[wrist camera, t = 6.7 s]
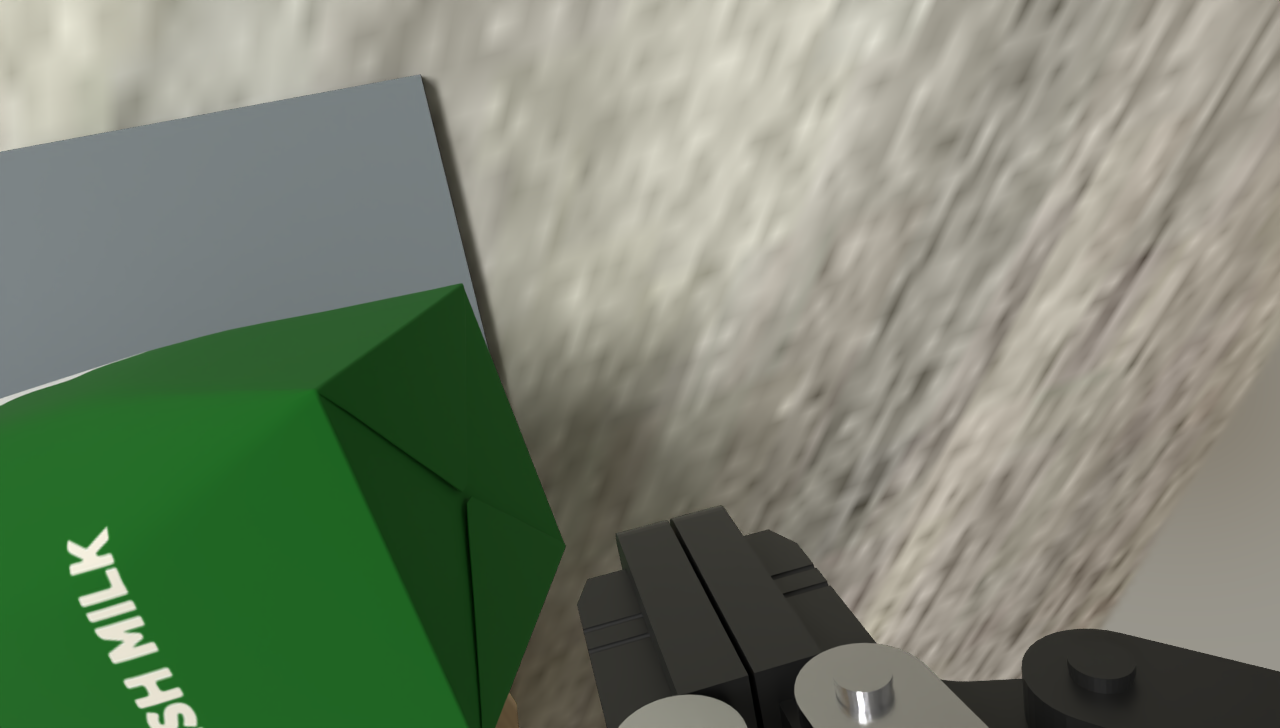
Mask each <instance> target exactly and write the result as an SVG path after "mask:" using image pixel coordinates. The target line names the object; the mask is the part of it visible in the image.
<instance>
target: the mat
mask: <svg viewBox="0 0 1280 728" xmlns="http://www.w3.org/2000/svg"><path fill="white" fill-rule="evenodd" d="M459 283H462V284H463V285H464V289H465V292H466V294H467V297H468V299H469V302H470V304H471V307H472V309H473V312H474V314H475V317H476V320H477V322H478V325H479V327H480V330H481V332H482V335H483V337H484V340H485V343H486V345H487V341H486V337H485V333H484V329H483V325H482V321H481V317H480V313H479V308H478V304H477V300H476V296H475V292H474V288H473V284H472V280H471V276H470V272H469V268H468V264H467V260H466V256H465V252H464V248H463V244H462V240H461V236H460V232H459V227H458V223H457V219H456V215H455V211H454V207H453V203H452V199H451V195H450V191H449V187H448V183H447V179H446V175H445V171H444V167H443V163H442V159H441V155H440V151H439V146H438V142H437V138H436V134H435V130H434V126H433V122H432V118H431V114H430V110H429V106H428V102H427V98H426V94H425V90H424V86H423V82H422V78H421V75H415V76H410V77H404V78H399V79H393V80H388V81H383V82H377V83H372V84H366V85H361V86H355V87H350V88H344V89H339V90H334V91H328V92H323V93H317V94H312V95H306V96H301V97H296V98H290V99H285V100H279V101H274V102H268V103H263V104H258V105H252V106H247V107H241V108H236V109H230V110H225V111H220V112H214V113H209V114H203V115H198V116H192V117H187V118H182V119H176V120H171V121H165V122H160V123H154V124H149V125H144V126H138V127H133V128H127V129H122V130H116V131H111V132H106V133H100V134H95V135H89V136H84V137H78V138H73V139H68V140H62V141H57V142H51V143H46V144H40V145H35V146H30V147H24V148H19V149H13V150H8V151H2V152H0V399H1V398H4V397H7V396H10V395H13V394H16V393H19V392H22V391H25V390H28V389H31V388H35V387H38V386H41V385H44V384H47V383H50V382H53V381H56V380H59V379H62V378H65V377H69V376H72V375H75V374H78V373H81V372H84V371H87V370H90V369H93V368H96V367H100V366H103V365H106V364H109V363H112V362H115V361H118V360H121V359H124V358H127V357H131V356H134V355H137V354H140V353H143V352H146V351H150V350H154V349H157V348H161V347H165V346H169V345H172V344H176V343H180V342H183V341H187V340H191V339H194V338H198V337H202V336H206V335H210V334H214V333H218V332H222V331H226V330H230V329H235V328H240V327H245V326H250V325H255V324H260V323H265V322H270V321H276V320H281V319H286V318H292V317H297V316H302V315H308V314H313V313H319V312H324V311H329V310H334V309H339V308H343V307H348V306H353V305H358V304H363V303H368V302H373V301H378V300H383V299H387V298H392V297H397V296H402V295H407V294H412V293H417V292H422V291H427V290H432V289H436V288H441V287H446V286H450V285H455V284H459ZM487 348H488V345H487ZM488 350H489V349H488Z"/></svg>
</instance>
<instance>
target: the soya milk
mask: <svg viewBox="0 0 1280 728" xmlns="http://www.w3.org/2000/svg"><path fill="white" fill-rule="evenodd" d="M565 547H566V545H565V543H564V541H563V539H562V536H561V534H560V531H559V529H558V526H557V524H556V521H555V518H554V516H553V513H552V511H551V508H550V506H549V503H548V501H547V498H546V496H545V493H544V490H543V488H542V485H541V483H540V480H539V478H538V475H537V473H536V470H535V467H534V465H533V462H532V460H531V457H530V455H529V452H528V450H527V447H526V445H525V442H524V439H523V437H522V434H521V432H520V429H519V427H518V424H517V422H516V419H515V416H514V414H513V411H512V409H511V406H510V404H509V401H508V399H507V396H506V393H505V391H504V388H503V386H502V383H501V381H500V378H499V376H498V373H497V371H496V368H495V365H494V363H493V360H492V358H491V355H490V353H489V350H488V348H487V345H486V343H485V340H484V337H483V335H482V332H481V330H480V327H479V325H478V322H477V320H476V317H475V314H474V312H473V309H472V307H471V304H470V302H469V299H468V297H467V294H466V292H465V289H464V285H463V284H462V283H459V284H455V285H450V286H446V287H441V288H436V289H432V290H427V291H422V292H417V293H412V294H407V295H402V296H397V297H392V298H387V299H383V300H378V301H373V302H368V303H363V304H358V305H353V306H348V307H343V308H339V309H334V310H329V311H324V312H319V313H313V314H308V315H302V316H297V317H292V318H286V319H281V320H276V321H270V322H265V323H260V324H255V325H250V326H245V327H240V328H235V329H230V330H226V331H222V332H218V333H214V334H210V335H206V336H202V337H198V338H194V339H191V340H187V341H183V342H180V343H176V344H172V345H169V346H165V347H161V348H157V349H154V350H150V351H146V352H143V353H140V354H137V355H134V356H131V357H127V358H124V359H121V360H118V361H115V362H112V363H109V364H106V365H103V366H100V367H96V368H93V369H90V370H87V371H84V372H81V373H78V374H75V375H72V376H69V377H65V378H62V379H59V380H56V381H53V382H50V383H47V384H44V385H41V386H38V387H35V388H31V389H28V390H25V391H22V392H19V393H16V394H13V395H10V396H7V397H4V398H1V399H0V728H495V727H496V725H497V722H498V720H499V717H500V714H501V712H502V709H503V707H504V704H505V702H506V699H507V696H508V694H509V691H510V689H511V686H512V684H513V681H514V678H515V676H516V673H517V671H518V668H519V666H520V663H521V660H522V658H523V655H524V653H525V650H526V648H527V645H528V642H529V640H530V637H531V635H532V632H533V630H534V627H535V624H536V622H537V619H538V617H539V614H540V612H541V609H542V607H543V604H544V601H545V599H546V596H547V594H548V591H549V589H550V586H551V583H552V581H553V578H554V576H555V573H556V571H557V568H558V565H559V563H560V560H561V558H562V555H563V553H564V550H565Z"/></svg>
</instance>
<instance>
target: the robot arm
mask: <svg viewBox="0 0 1280 728" xmlns="http://www.w3.org/2000/svg"><path fill="white" fill-rule="evenodd" d="M616 541H617V546H618V551H619V556H620V560H621V565H622V569H623V570H620V571H617V572H613V573H609V574H606V575H602V576H598V577H595V578H591V579H588V580H587V582H586V584H585V587H584V589H583V592H582V594H581V597H580V599H579V601H578V604H577V606H578V610H579V614H580V618H581V623H582V627H583V631H584V635H585V639H586V643H587V647H588V651H589V656H590V660H591V664H592V668H593V672H594V676H595V680H596V684H597V689H598V693H599V697H600V701H601V705H602V709H603V713H604V717H605V722H606V726H607V728H1280V672H1279V671H1275V670H1271V669H1267V668H1263V667H1258V666H1254V665H1250V664H1246V663H1242V662H1238V661H1234V660H1230V659H1225V658H1221V657H1217V656H1213V655H1209V654H1205V653H1201V652H1196V651H1192V650H1188V649H1184V648H1180V647H1176V646H1172V645H1168V644H1163V643H1159V642H1155V641H1151V640H1147V639H1143V638H1138V637H1135V636H1131V635H1126V634H1122V633H1118V632H1112V631H1107V630H1098V629H1074V630H1066V631H1061V632H1056V633H1053V634H1050V635H1048V636H1045V637H1043V638H1041V639H1040V640H1038V641H1036V642H1035V643H1034V644H1033V645H1031V646H1030V647H1029V649H1028V650H1027V651H1026V653H1025V655H1024V657H1023V660H1022V679H1009V680H991V681H972V682H957V681H946V680H940V679H939V678H938V677H937V676H936V675H935V674H934V673H933V672H932V671H931V670H930V669H929V668H928V667H927V666H926V665H925V664H924V663H923V662H922V661H920V660H919V659H918V658H917V657H915V656H913V655H912V654H910V653H908V652H906V651H903V650H901V649H899V648H895V647H892V646H888V645H882V644H877V643H876V642H875V641H874V640H873V638H872V637H871V636H870V635H869V633H868V632H867V631H866V630H865V628H864V627H863V626H862V625H861V623H860V622H859V621H858V619H857V618H856V617H855V616H854V614H853V613H852V612H851V611H850V609H849V608H848V607H847V606H846V604H845V603H844V602H843V601H842V599H841V598H840V597H839V596H838V594H837V593H836V592H835V591H834V589H833V588H832V587H831V586H828V584H827V581H826V579H825V578H824V577H823V575H822V574H821V573H820V572H819V570H818V569H817V568H814V565H813V563H812V562H811V560H810V559H809V558H808V557H807V555H806V554H805V553H804V552H803V550H802V549H801V548H800V547H799V545H798V544H797V543H795V542H793V541H791V540H789V539H787V538H785V537H783V536H781V535H779V534H777V533H774V532H772V531H770V530H765V531H761V532H758V533H754V534H750V535H747V536H743V535H742V533H741V532H740V531H739V529H738V528H737V526H736V525H735V523H734V522H733V520H732V519H731V517H730V516H729V514H728V513H727V511H726V510H725V509H724V507H723V506H721V505H720V506H716V507H712V508H709V509H705V510H701V511H698V512H694V513H690V514H686V515H683V516H679V517H675V518H672V519H670V524H669V522H668V521H667V520H665V521H661V522H657V523H654V524H650V525H646V526H643V527H639V528H635V529H631V530H628V531H624V532H620V533H616Z"/></svg>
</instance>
